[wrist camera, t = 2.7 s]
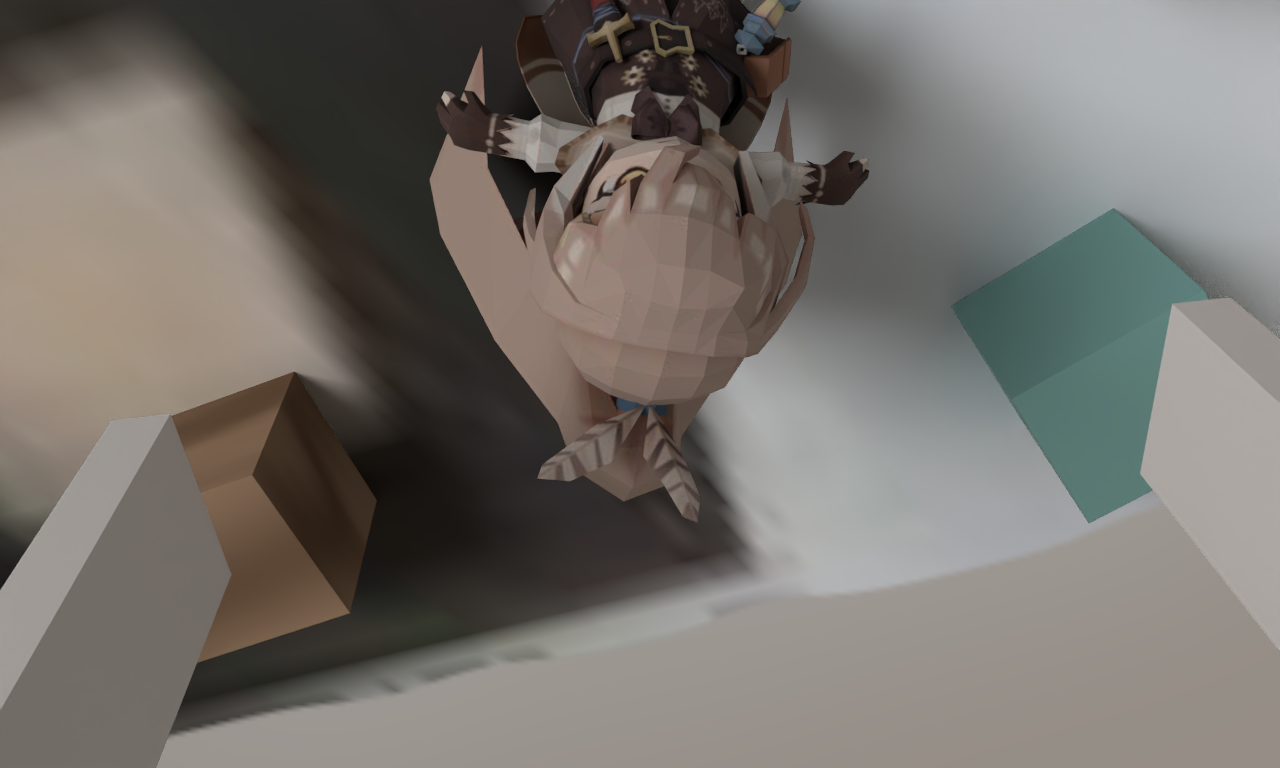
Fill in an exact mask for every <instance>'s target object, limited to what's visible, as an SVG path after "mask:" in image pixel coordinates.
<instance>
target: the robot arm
mask: <svg viewBox="0 0 1280 768" xmlns="http://www.w3.org/2000/svg"><path fill="white" fill-rule="evenodd" d="M1140 474H1141V476H1142V477H1143V478H1144V479H1145V481H1146V482H1147V483H1148V485H1149V486H1150V487H1151V488H1152V490H1153V491H1154V492H1155V493H1156V495H1157V496H1158V497H1159V499H1160V500H1161V501H1162V502H1163V504H1164V505H1165V506H1166V507H1167V509H1168V510H1169V511H1170V513H1171V514H1172V515H1173V516H1174V518H1175V519H1176V520H1177V521H1178V523H1179V524H1180V525H1181V526H1182V528H1183V529H1184V530H1185V531H1186V533H1187V534H1188V535H1189V537H1190V538H1191V539H1192V541H1193V542H1194V543H1195V544H1196V546H1197V547H1198V548H1199V549H1200V551H1201V552H1202V553H1203V554H1204V555H1205V557H1206V558H1207V560H1208V561H1209V562H1210V563H1211V565H1212V566H1213V567H1214V568H1215V570H1216V571H1217V572H1218V574H1219V575H1220V576H1221V577H1222V579H1223V580H1224V581H1225V583H1226V584H1227V585H1228V586H1229V588H1230V589H1231V590H1232V591H1233V592H1234V594H1235V595H1236V596H1237V598H1238V599H1239V600H1240V602H1241V603H1242V604H1243V605H1244V607H1245V608H1246V609H1247V610H1248V612H1249V613H1250V614H1251V615H1252V617H1253V618H1254V619H1255V621H1256V622H1257V623H1258V624H1259V626H1260V627H1261V628H1262V630H1263V631H1264V632H1265V633H1266V635H1267V636H1268V637H1269V638H1270V640H1271V641H1272V642H1273V644H1274V645H1275V646H1276V647H1277V649H1278V650H1279V651H1280V339H1279V338H1278V337H1277V336H1276V335H1275V334H1273V333H1272V332H1271V331H1270V330H1269V329H1267V328H1266V327H1265V326H1264V325H1263V324H1261V323H1260V322H1259V321H1258V320H1257V319H1256V318H1254V317H1253V316H1252V315H1251V314H1250V313H1248V312H1247V311H1246V310H1245V309H1244V308H1242V307H1241V306H1240V305H1239V304H1238V303H1236V302H1235V301H1234V300H1233V299H1232V298H1230V297H1228V298H1219V299H1210V300H1201V301H1192V302H1183V303H1173V304H1172V307H1171V313H1170V318H1169V323H1168V329H1167V334H1166V339H1165V344H1164V350H1163V355H1162V360H1161V365H1160V371H1159V376H1158V381H1157V387H1156V392H1155V397H1154V402H1153V408H1152V413H1151V418H1150V423H1149V429H1148V434H1147V439H1146V445H1145V450H1144V455H1143V460H1142V466H1141V471H1140ZM230 577H231V572H230V569H229V567H228V564H227V561H226V559H225V556H224V554H223V551H222V548H221V546H220V543H219V540H218V538H217V535H216V532H215V530H214V527H213V525H212V522H211V519H210V517H209V514H208V511H207V509H206V506H205V503H204V501H203V498H202V495H201V493H200V490H199V488H198V485H197V482H196V480H195V477H194V474H193V472H192V469H191V466H190V464H189V461H188V459H187V456H186V453H185V451H184V448H183V445H182V443H181V440H180V437H179V435H178V432H177V430H176V427H175V424H174V422H173V419H172V416H171V414H163V415H154V416H144V417H135V418H126V419H117V420H111V422H110V423H109V425H108V426H107V428H106V429H105V431H104V432H103V434H102V435H101V437H100V439H99V440H98V442H97V443H96V445H95V446H94V448H93V449H92V451H91V452H90V454H89V455H88V457H87V458H86V460H85V461H84V463H83V465H82V466H81V468H80V469H79V471H78V472H77V474H76V475H75V477H74V478H73V480H72V481H71V483H70V484H69V486H68V487H67V489H66V490H65V492H64V494H63V495H62V497H61V498H60V500H59V501H58V503H57V504H56V506H55V507H54V509H53V510H52V512H51V513H50V515H49V516H48V518H47V520H46V521H45V523H44V524H43V526H42V527H41V529H40V530H39V532H38V533H37V535H36V536H35V538H34V539H33V541H32V542H31V544H30V546H29V547H28V549H27V550H26V552H25V553H24V555H23V556H22V558H21V559H20V561H19V562H18V564H17V565H16V567H15V568H14V570H13V571H12V573H11V575H10V576H9V578H8V579H7V581H6V582H5V584H4V585H3V587H2V588H1V590H0V768H156V766H157V764H158V761H159V759H160V756H161V753H162V751H163V748H164V745H165V743H166V741H167V738H168V736H169V733H170V731H171V728H172V725H173V723H174V720H175V718H176V715H177V713H178V710H179V708H180V705H181V702H182V700H183V697H184V695H185V692H186V690H187V687H188V685H189V682H190V679H191V677H192V674H193V672H194V669H195V667H196V664H197V662H198V659H199V656H200V654H201V651H202V649H203V646H204V644H205V641H206V638H207V636H208V633H209V631H210V628H211V626H212V623H213V621H214V618H215V615H216V613H217V610H218V608H219V605H220V603H221V600H222V598H223V595H224V592H225V590H226V587H227V585H228V582H229V580H230Z"/></svg>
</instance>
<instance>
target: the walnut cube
mask: <svg viewBox="0 0 1280 768" xmlns="http://www.w3.org/2000/svg"><path fill="white" fill-rule="evenodd" d="M172 419H173V422H174V424H175V427H176V430H177V432H178V435H179V437H180V440H181V443H182V445H183V448H184V451H185V453H186V456H187V459H188V461H189V464H190V466H191V469H192V472H193V474H194V477H195V480H196V482H197V485H198V488H199V490H200V493H201V495H202V498H203V501H204V503H205V506H206V509H207V511H208V514H209V517H210V519H211V522H212V525H213V527H214V530H215V532H216V535H217V538H218V540H219V543H220V546H221V548H222V551H223V554H224V556H225V559H226V561H227V564H228V567H229V569H230V572H231V577H230V580H229V582H228V585H227V587H226V590H225V592H224V595H223V598H222V600H221V603H220V605H219V608H218V610H217V613H216V615H215V618H214V621H213V623H212V626H211V628H210V631H209V633H208V636H207V638H206V641H205V644H204V646H203V649H202V651H201V654H200V656H199V659H198V662H201V661H204V660H207V659H210V658H213V657H216V656H220V655H223V654H226V653H229V652H232V651H235V650H238V649H241V648H244V647H247V646H250V645H253V644H256V643H259V642H262V641H266V640H269V639H272V638H275V637H278V636H281V635H284V634H287V633H290V632H293V631H296V630H299V629H302V628H305V627H309V626H312V625H315V624H318V623H321V622H324V621H327V620H330V619H333V618H336V617H339V616H342V615H345V614H348V613H350V611H351V606H352V602H353V598H354V594H355V590H356V585H357V581H358V577H359V573H360V569H361V565H362V560H363V556H364V552H365V548H366V544H367V539H368V535H369V531H370V527H371V523H372V518H373V514H374V510H375V506H376V502H377V500H376V498H375V497H374V495H373V493H372V492H371V490H370V489H369V487H368V486H367V484H366V483H365V481H364V479H363V478H362V476H361V475H360V473H359V472H358V470H357V468H356V467H355V465H354V464H353V462H352V461H351V459H350V458H349V456H348V454H347V453H346V451H345V450H344V448H343V447H342V445H341V444H340V442H339V440H338V439H337V437H336V436H335V434H334V433H333V431H332V429H331V428H330V426H329V425H328V423H327V422H326V420H325V419H324V417H323V415H322V414H321V412H320V411H319V409H318V408H317V406H316V405H315V403H314V401H313V400H312V398H311V397H310V395H309V394H308V392H307V391H306V389H305V387H304V386H303V384H302V383H301V381H300V380H299V378H298V376H297V375H296V373H295V372H292V373H290V374H287V375H284V376H281V377H278V378H276V379H273V380H270V381H267V382H265V383H262V384H259V385H256V386H254V387H251V388H248V389H245V390H242V391H240V392H237V393H234V394H231V395H229V396H226V397H223V398H220V399H218V400H215V401H212V402H209V403H207V404H204V405H201V406H198V407H195V408H193V409H190V410H187V411H184V412H182V413H179V414H176V415H173V416H172ZM198 662H197V663H198Z"/></svg>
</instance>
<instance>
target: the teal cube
mask: <svg viewBox="0 0 1280 768" xmlns="http://www.w3.org/2000/svg"><path fill="white" fill-rule="evenodd" d="M1201 300H1209V299H1208V297H1207V294H1206V292H1205V290H1204V289H1203V288H1202V287H1200V286H1199V285H1198V284H1197V283H1196V282H1195V281H1194V280H1193V279H1192V278H1190V277H1189V276H1188V275H1187V274H1186V273H1185V272H1184V271H1183V270H1181V269H1180V268H1179V267H1178V266H1177V265H1176V264H1175V263H1174V262H1173V261H1171V260H1170V259H1169V258H1168V257H1167V256H1166V255H1165V254H1164V253H1163V252H1161V251H1160V250H1159V249H1158V248H1157V247H1156V246H1155V245H1154V244H1153V243H1151V242H1150V241H1149V240H1148V239H1147V238H1146V237H1145V236H1144V235H1143V234H1141V233H1140V232H1139V231H1138V230H1137V229H1136V228H1135V227H1134V226H1133V225H1131V224H1130V223H1129V222H1128V221H1127V220H1126V219H1125V218H1124V217H1123V216H1121V215H1120V214H1119V213H1118V212H1117V211H1116V210H1115V209H1114V208H1113V209H1112V210H1110V211H1108V212H1107V213H1105V214H1103V215H1102V216H1100V217H1098V218H1097V219H1095V220H1093V221H1092V222H1090V223H1088V224H1087V225H1085V226H1083V227H1082V228H1080V229H1078V230H1077V231H1075V232H1073V233H1072V234H1070V235H1068V236H1067V237H1065V238H1063V239H1062V240H1060V241H1058V242H1057V243H1055V244H1053V245H1052V246H1050V247H1048V248H1047V249H1045V250H1043V251H1042V252H1040V253H1038V254H1037V255H1035V256H1033V257H1032V258H1030V259H1028V260H1027V261H1025V262H1023V263H1022V264H1020V265H1018V266H1017V267H1015V268H1013V269H1012V270H1010V271H1008V272H1007V273H1005V274H1003V275H1002V276H1000V277H998V278H997V279H995V280H993V281H992V282H990V283H988V284H987V285H985V286H983V287H982V288H980V289H978V290H977V291H975V292H973V293H972V294H970V295H968V296H967V297H965V298H963V299H962V300H960V301H958V302H957V303H955V304H953V305H952V306H951V307H952V309H953V310H954V312H955V314H956V315H957V317H958V318H959V320H960V322H961V323H962V325H963V326H964V328H965V330H966V331H967V333H968V335H969V336H970V338H971V339H972V341H973V343H974V344H975V346H976V347H977V349H978V351H979V352H980V354H981V355H982V357H983V359H984V360H985V362H986V363H987V365H988V367H989V368H990V370H991V371H992V373H993V375H994V376H995V378H996V379H997V381H998V383H999V384H1000V386H1001V387H1002V389H1003V391H1004V392H1005V394H1006V395H1007V397H1008V399H1009V400H1010V402H1011V403H1012V405H1013V407H1014V408H1015V410H1016V411H1017V413H1018V415H1019V416H1020V418H1021V419H1022V421H1023V423H1024V424H1025V426H1026V427H1027V429H1028V430H1029V432H1030V433H1031V435H1032V436H1033V438H1034V440H1035V441H1036V443H1037V444H1038V446H1039V447H1040V449H1041V450H1042V452H1043V453H1044V455H1045V457H1046V458H1047V460H1048V461H1049V463H1050V464H1051V466H1052V467H1053V469H1054V470H1055V472H1056V473H1057V475H1058V477H1059V478H1060V480H1061V481H1062V483H1063V484H1064V486H1065V487H1066V489H1067V490H1068V492H1069V493H1070V495H1071V497H1072V498H1073V500H1074V501H1075V503H1076V504H1077V506H1078V507H1079V509H1080V510H1081V512H1082V513H1083V515H1084V517H1085V518H1086V520H1087V521H1088V523H1091V522H1093V521H1094V520H1096V519H1098V518H1100V517H1102V516H1104V515H1106V514H1108V513H1110V512H1112V511H1114V510H1116V509H1118V508H1119V507H1121V506H1123V505H1125V504H1127V503H1129V502H1131V501H1133V500H1135V499H1137V498H1139V497H1141V496H1143V495H1144V494H1146V493H1148V492H1150V491H1152V488H1151V487H1150V486H1149V485H1148V483H1147V482H1146V481H1145V479H1144V478H1143V477H1142V476H1141V474H1140V471H1141V466H1142V460H1143V455H1144V450H1145V445H1146V439H1147V434H1148V429H1149V423H1150V418H1151V413H1152V408H1153V402H1154V397H1155V392H1156V387H1157V381H1158V376H1159V371H1160V365H1161V360H1162V355H1163V350H1164V344H1165V339H1166V334H1167V329H1168V323H1169V318H1170V313H1171V307H1172V304H1173V303H1183V302H1192V301H1201Z"/></svg>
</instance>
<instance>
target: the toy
mask: <svg viewBox="0 0 1280 768" xmlns="http://www.w3.org/2000/svg"><path fill="white" fill-rule="evenodd" d="M800 2H801V1H800V0H765V1H764V2H763V3H762V4H761V5H760V6H759V7H758V8H757V9H756V10H755V11H754V12H753V13H751V12H750V11H749V10H748V9H747V8H746V7H745V6H744V5H743V4H742V3H741V1H740V0H555V2H554V3H553V4H552V5H551V6H550V8H549V9H548V10H547V11H546V12H545V14H544V15H533V16H524V18H523V21H522V23H521V26H520V29H519V32H518V35H517V38H516V41H515V42H516V52H517V61H518V63H519V66H520V69H521V72H522V74H523V77H524V80H525V83H526V85H527V88H528V90H529V92H530V93H531V95H532V97H533V99H534V101H535V103H536V104H537V106H538V108H539V110H540V111H541V113H542V114H540V115H539V116H537V117H536V118H534V119H532V120H531V121H527V120H522V119H518V118H514V117H509V116H512V115H514V114H505V115H501V114H496V113H492V112H490V111H489V110H488V109H487V108H486V107H485V99H484V78H483V57H482V47H481V49H480V52H479V54H478V57H477V60H476V62H475V65H474V67H473V70H472V72H471V75H470V78H469V80H468V83H467V85H466V88H465V90H463V91H464V93H463V95H462V98H461V99H459V98H458V97H456V96H455V95H454V94H452V93H451V92H447V91H444V93H443V96H442V99H443V101H444V102H438V104H437V107H436V111H437V112H438V115H439V120H440V123H441V124H442V126H443V127H444V129H445V130H446V132H447V133H448V134H447V136H446V139H445V142H444V144H443V147H442V149H441V152H440V154H439V157H438V159H437V162H436V165H435V167H434V170H433V172H432V175H431V177H430V183H431V188H432V194H433V199H434V204H435V209H436V214H437V219H438V224H439V229H440V234H441V236H442V238H443V240H444V242H445V244H446V246H447V248H448V250H449V252H450V254H451V256H452V258H453V260H454V262H455V264H456V266H457V268H458V269H459V271H460V273H461V275H462V277H463V279H464V281H465V283H466V285H467V287H468V289H469V291H470V293H471V295H472V297H473V299H474V301H475V303H476V304H477V306H478V308H479V310H480V312H481V314H482V316H483V318H484V320H485V322H486V324H487V326H488V328H489V330H490V332H491V334H492V336H493V338H494V339H495V341H496V343H497V344H498V345H499V346H500V348H501V349H502V350H503V352H504V353H505V354H506V356H507V357H508V358H509V360H510V361H511V362H512V363H513V365H514V366H515V367H516V369H517V370H518V371H519V373H520V374H521V375H522V376H523V378H524V379H525V380H526V382H527V383H528V384H529V386H530V387H531V388H532V389H533V391H534V392H535V393H536V395H537V396H538V397H539V399H540V400H541V401H542V403H543V404H544V405H545V406H546V408H547V409H548V410H549V412H550V413H551V414H552V416H553V417H554V418H555V419H556V421H557V422H558V424H559V427H560V430H561V433H562V436H563V439H564V441H565V444H566V448H564V449H563V450H562V451H560V452H559V453H558V454H556V455H555V456H554V457H552V458H551V459H550V460H548V461H547V462H546V463H544V464H543V465H542V467H541V470H540V473H539V475H538V478H539V479H551V480H563V481H571V480H574V479H576V478H578V477H580V476H583V475H584V476H586V477H587V478H589V479H590V480H592V481H593V482H595V483H596V484H598V485H599V486H601V487H603V488H604V489H606V490H607V491H609V492H610V493H612V494H613V495H615V496H616V497H618V498H619V499H621V500H622V501H626V500H628V499H631V498H634V497H636V496H639V495H642V494H644V493H647V492H649V491H652V490H655V489H657V488H660V487H663V486H665V487H666V489H667V491H668V492H669V494H670V496H671V497H672V499H673V501H674V502H675V504H676V506H677V507H678V509H679V511H680V512H681V514H682V516H683V517H684V518H687V519H690V520H692V521H695V522H698V513H699V502H700V496H699V493H698V491H697V488H696V486H695V483H694V481H693V479H692V476H691V474H690V471H689V469H688V467H687V465H686V463H685V461H684V459H683V457H682V455H681V453H680V441H681V436H682V435H683V433H684V432H685V430H686V429H687V427H688V426H689V424H690V423H691V421H692V420H693V418H694V417H695V415H696V414H697V412H698V411H699V409H700V408H701V406H702V405H703V403H704V402H705V400H706V399H707V397H708V396H709V394H710V393H712V392H715V391H717V390H719V389H722V388H724V387H725V386H726V385H727V383H728V382H729V380H730V379H731V377H732V376H733V374H734V373H735V371H736V370H737V368H738V367H739V365H740V364H741V362H742V361H743V359H744V357H749V356H752V355H756V354H758V353H759V352H760V350H761V349H762V348H763V347H764V346H765V344H766V343H767V342H768V341H769V340H770V338H771V337H772V336H773V335H774V334H775V333H776V331H777V330H778V328H779V327H780V325H781V324H782V322H783V321H784V319H785V318H786V316H787V315H788V313H789V312H790V310H791V309H792V307H793V306H794V304H795V303H796V301H797V300H798V298H799V297H800V295H801V293H802V292H803V290H804V288H805V286H806V283H807V278H808V272H809V267H810V261H811V256H812V250H813V244H814V239H815V238H814V234H813V230H812V226H811V223H810V219H809V215H808V212H807V209H806V208H805V206H804V205H803V204H805V203H810V202H812V203H818V204H825V205H844V204H845V203H846V202H847V201H848V200H849V199H850V198H851V197H852V195H853V194H854V193H855V191H856V190H857V189H858V188H859V187H860V186H861V185H862V184H863V182H864V181H865V180H866V179H867V178H868V174H869V170H867V169H866V167H867V166H868V159H866V158H862V159H859V160H857V161H854V162H851V163H849V161H850V160H851V158H852V157H853V155H854V153H852V152H847V151H843V152H842V153H841V154H840V155H838V156H837V157H836V158H835V159H833V160H832V161H831V162H829V163H828V164H826V165H818V164H813V163H811V162H809V161H807V160H806V161H807V162H808V163H810V164H806V163H794V157H793V148H792V138H791V129H790V119H789V110H788V100H787V99H786V103H785V107H784V111H783V115H782V120H781V124H780V128H779V132H778V136H777V140H776V144H775V148H774V152H761V153H757V152H749V151H747V149H748V148H749V146H750V145H751V143H752V141H753V139H754V138H755V136H756V134H757V132H758V130H759V129H760V127H761V125H762V122H763V120H764V117H765V115H766V112H767V110H768V107H769V105H770V102H771V96H772V92H773V91H774V90H775V89H776V88H777V87H778V86H779V85H780V84H781V83H782V82H783V81H784V80H785V79H786V78H787V76H788V74H789V64H790V53H791V41H792V40H791V39H790V38H789V37H788V38H787V39H786V40H785V39H781V38H777V37H775V35H776V33H775V29H776V27H777V25H778V23H779V22H780V20H781V18H782V16H783V14H784V10H787V11H790V12H792V11H794V10H795V9H796V8H797V6H798V5H799V3H800ZM562 65H563V66H564V67H565V68H566V70H567V71H568V72H569V74H570V75H571V76H572V78H573V79H574V80H575V82H576V83H577V84H578V86H579V88H580V90H581V93H582V97H583V102H584V105H585V107H586V109H587V112H588V114H589V117H590V120H591V123H592V125H593V126H592V125H591V123H590V122H589V121H588V120H587V118H586V117H585V116H584V115H583V113H582V112H581V111H580V108H579V106H578V104H577V102H576V100H575V98H574V95H573V92H572V90H571V87H570V84H569V81H568V79H567V76H566V73H565V71H564V68H563V66H562ZM487 153H491V154H494V155H496V156H498V157H500V158H502V159H503V160H505V161H506V159H505V158H504V157H503V156H507V157H512V158H517V159H522V160H525V161H526V162H527V163H528V165H529V166H530V167H531V168H532V169H533V171H534V172H558V173H562V175H563V176H562V177H561V178H560V179H559V180H558V182H557V183H556V184H555V185H554V187H553V189H552V191H551V193H550V196H549V198H548V200H547V202H546V204H545V207H544V209H543V211H541V212H537V213H534V210H535V201H536V188H534V189H532V190H530V192H529V196H528V200H527V204H526V208H525V213H524V217H520V218H517V219H514V220H513V219H512V217H511V215H510V213H509V211H508V209H507V207H506V205H505V203H504V200H503V198H502V196H501V194H500V192H499V190H498V188H497V186H496V184H495V182H494V180H493V178H492V176H491V174H490V172H489V170H488V163H487ZM587 189H588V190H587ZM586 190H587V191H586ZM585 192H586V193H585ZM584 194H585V196H584ZM583 196H584V198H583ZM798 201H800V202H799V203H798ZM799 205H800V207H799ZM800 221H801V224H800ZM801 226H802V230H803V235H804V240H805V242H804V245H803V248H802V252H801V255H800V259H799V262H798V266H797V269H796V273H795V276H794V280H793V282H792V283H791V285H790V286H789V287H788V289H787V290H786V292H785V293H784V295H783V296H782V298H781V299H780V300H779V302H778V303H777V305H776V302H777V299H778V295H779V293H780V291H781V290H782V289H783V287H784V286H785V284H786V282H787V278H788V275H789V272H790V269H791V266H792V263H793V260H794V257H795V254H796V250H797V247H798V244H799V241H800V238H801V235H802V233H801ZM775 305H776V306H775Z"/></svg>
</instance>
